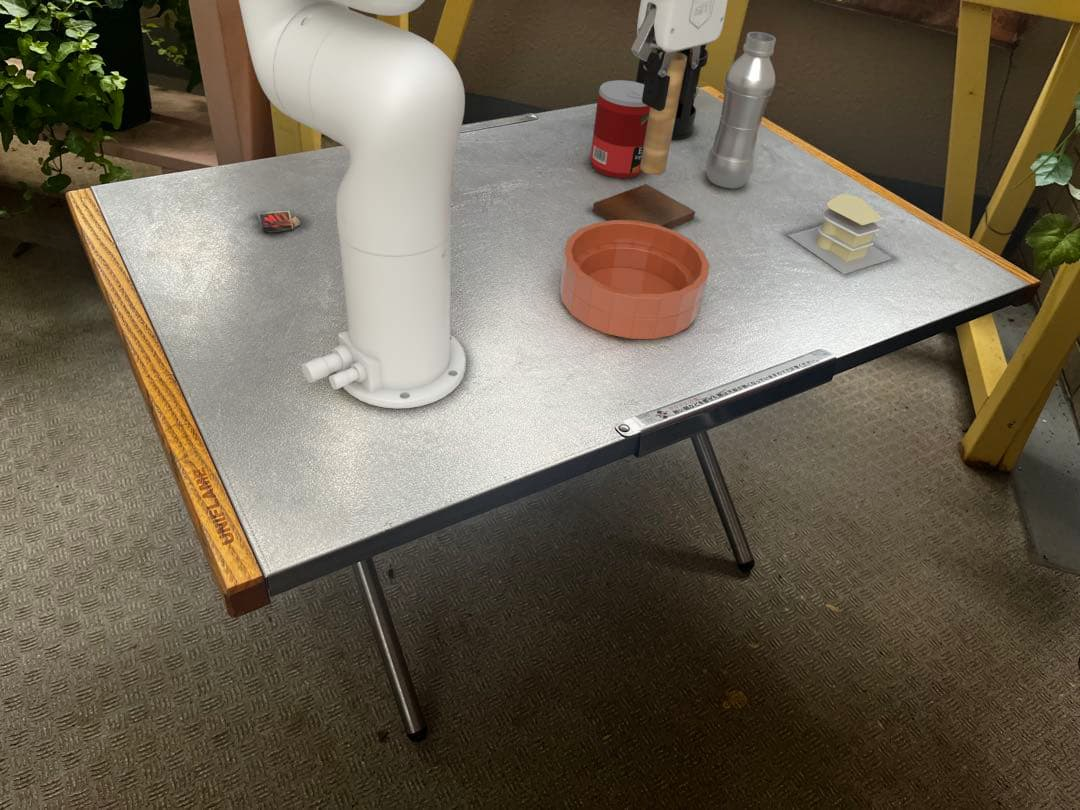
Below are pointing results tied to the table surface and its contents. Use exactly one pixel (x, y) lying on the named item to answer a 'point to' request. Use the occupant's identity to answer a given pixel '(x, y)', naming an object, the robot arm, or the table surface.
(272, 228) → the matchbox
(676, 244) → the bowl
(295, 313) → the table surface
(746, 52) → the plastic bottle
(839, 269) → the stacked layers on plate
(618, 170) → the canned food
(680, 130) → the french press
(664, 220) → the board
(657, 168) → the stirring stick
